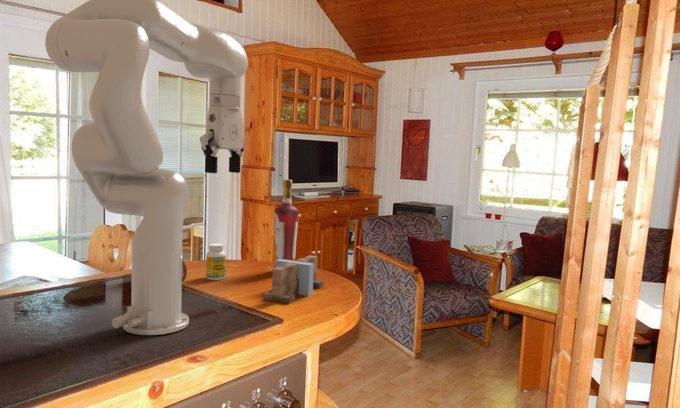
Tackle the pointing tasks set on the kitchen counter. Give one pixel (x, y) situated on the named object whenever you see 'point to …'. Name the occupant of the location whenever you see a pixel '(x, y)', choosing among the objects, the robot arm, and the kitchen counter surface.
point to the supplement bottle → (216, 262)
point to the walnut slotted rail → (289, 281)
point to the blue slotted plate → (301, 275)
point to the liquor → (286, 226)
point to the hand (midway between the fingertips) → (223, 172)
